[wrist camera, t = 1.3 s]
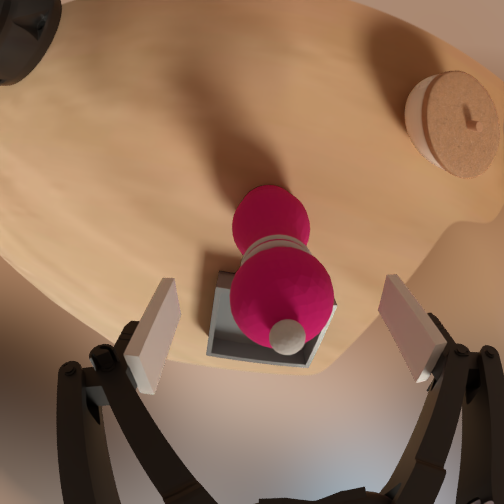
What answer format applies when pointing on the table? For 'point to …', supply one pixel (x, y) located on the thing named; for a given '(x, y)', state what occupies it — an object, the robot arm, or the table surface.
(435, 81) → the lidded jar
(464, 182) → the table surface
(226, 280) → the bin
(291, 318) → the pepper mill
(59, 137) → the table surface
